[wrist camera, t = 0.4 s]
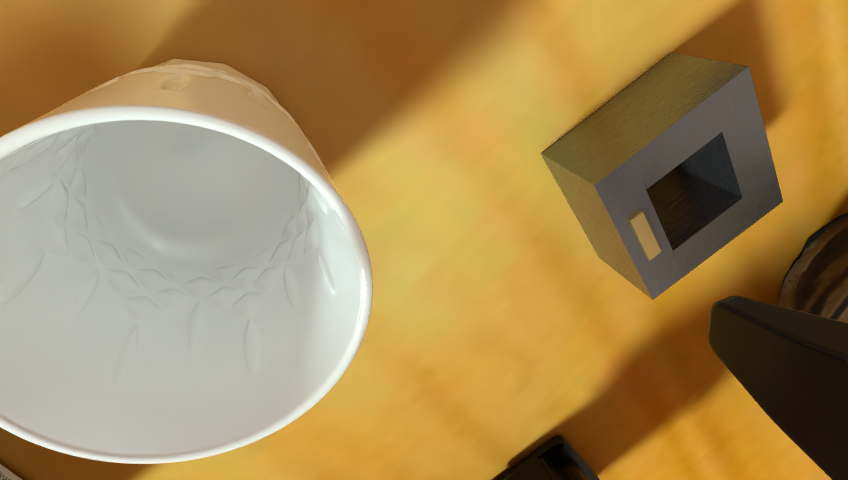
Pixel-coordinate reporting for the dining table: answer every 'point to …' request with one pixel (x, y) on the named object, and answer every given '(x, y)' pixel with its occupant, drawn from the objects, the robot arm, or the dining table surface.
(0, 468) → the tea box
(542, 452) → the robot arm
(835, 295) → the ceramic jug
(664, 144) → the grey knob housing box
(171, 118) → the white cup
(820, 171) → the dining table surface
